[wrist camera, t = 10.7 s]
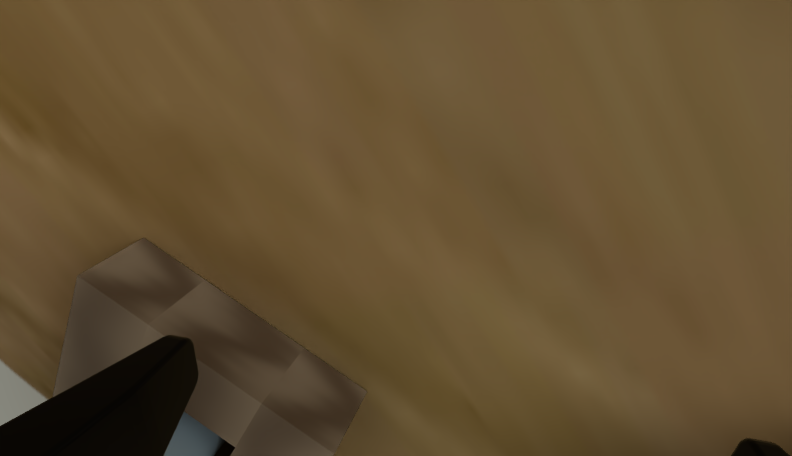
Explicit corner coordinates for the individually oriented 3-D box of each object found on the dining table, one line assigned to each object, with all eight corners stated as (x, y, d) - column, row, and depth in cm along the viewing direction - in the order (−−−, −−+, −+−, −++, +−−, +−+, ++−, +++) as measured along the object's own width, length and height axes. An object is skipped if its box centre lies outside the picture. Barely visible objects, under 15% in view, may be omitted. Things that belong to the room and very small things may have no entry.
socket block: (367, 391, 26) (334, 454, 22) (273, 510, 33) (237, 572, 29) (143, 237, 26) (77, 275, 23) (99, 388, 33) (44, 434, 30)
